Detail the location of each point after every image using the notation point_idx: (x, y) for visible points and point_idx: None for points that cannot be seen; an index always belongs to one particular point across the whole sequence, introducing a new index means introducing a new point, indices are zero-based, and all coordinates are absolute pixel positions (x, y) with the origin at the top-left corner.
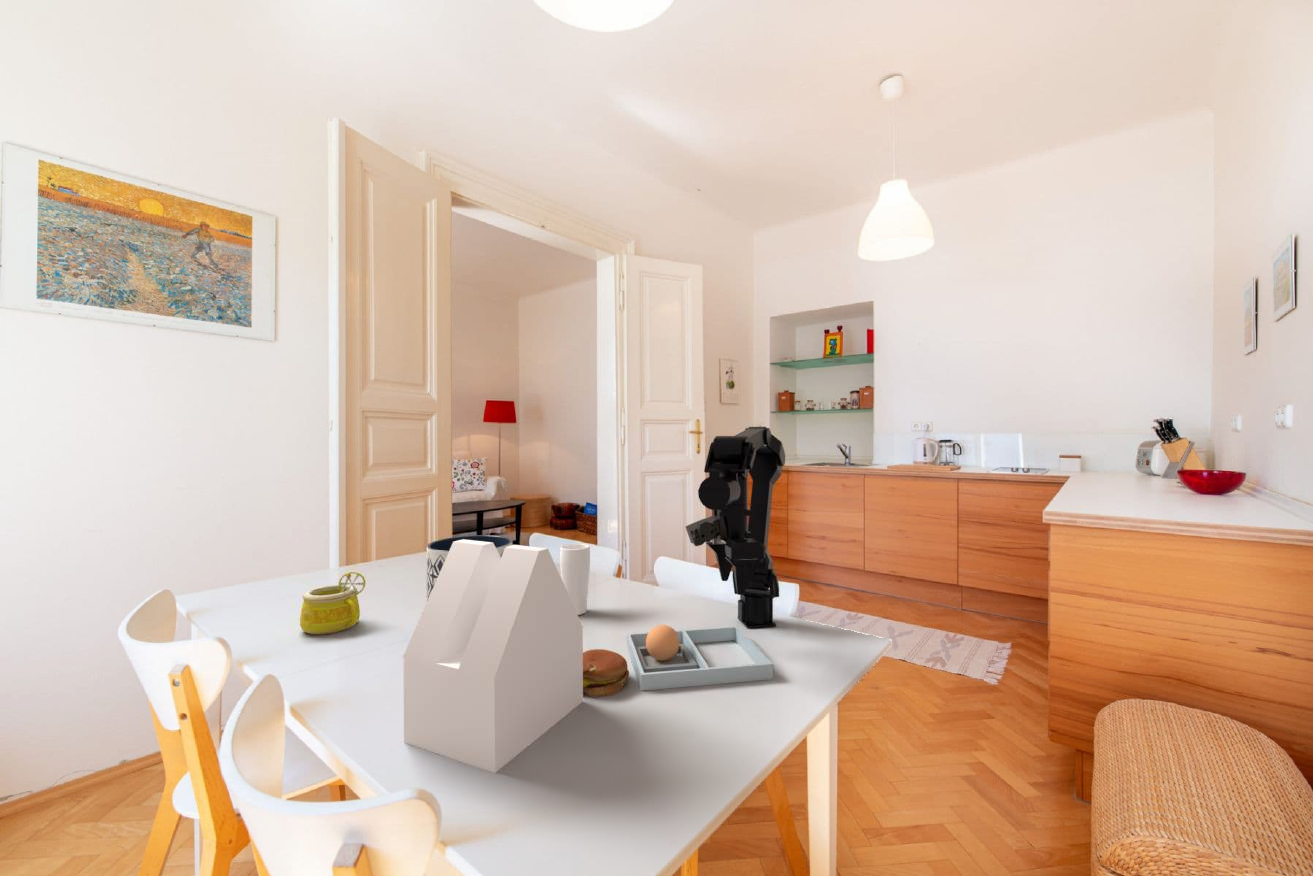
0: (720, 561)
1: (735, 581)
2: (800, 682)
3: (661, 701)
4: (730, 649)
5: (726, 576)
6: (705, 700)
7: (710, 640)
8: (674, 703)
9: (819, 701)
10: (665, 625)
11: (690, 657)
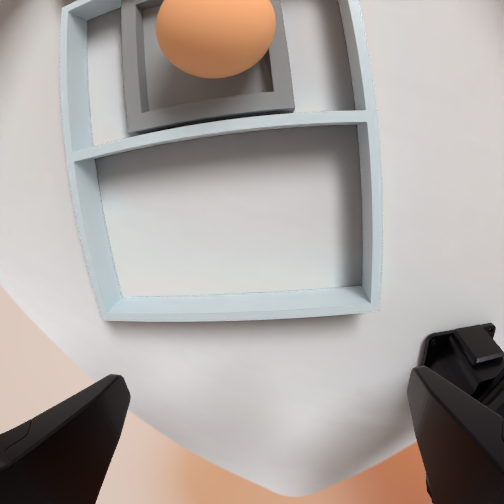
0: (472, 454)
1: (72, 410)
2: (113, 346)
3: (42, 63)
4: (297, 255)
5: (415, 405)
6: (38, 146)
7: (362, 209)
8: (34, 88)
9: (58, 342)
10: (208, 11)
11: (177, 114)
